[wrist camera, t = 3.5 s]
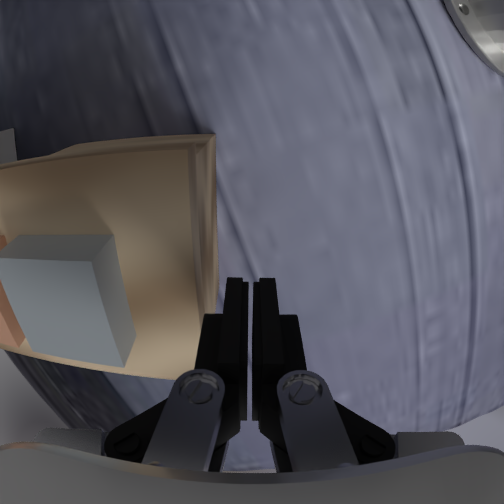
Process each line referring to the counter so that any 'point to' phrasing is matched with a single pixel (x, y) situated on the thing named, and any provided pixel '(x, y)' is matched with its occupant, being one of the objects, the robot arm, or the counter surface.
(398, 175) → the counter surface
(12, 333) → the terracotta tile
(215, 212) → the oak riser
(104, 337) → the slate tile
